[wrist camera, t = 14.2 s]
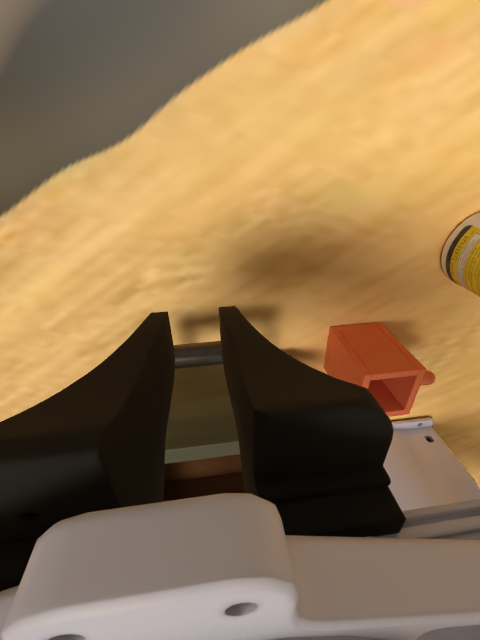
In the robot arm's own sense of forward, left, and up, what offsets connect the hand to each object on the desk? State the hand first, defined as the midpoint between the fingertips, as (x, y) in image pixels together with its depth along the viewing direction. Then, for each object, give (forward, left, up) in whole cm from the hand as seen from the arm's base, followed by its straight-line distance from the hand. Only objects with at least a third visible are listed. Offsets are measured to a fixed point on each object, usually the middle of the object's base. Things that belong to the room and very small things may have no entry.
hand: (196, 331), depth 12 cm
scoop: (-13, +9, -9) cm, 18 cm away
